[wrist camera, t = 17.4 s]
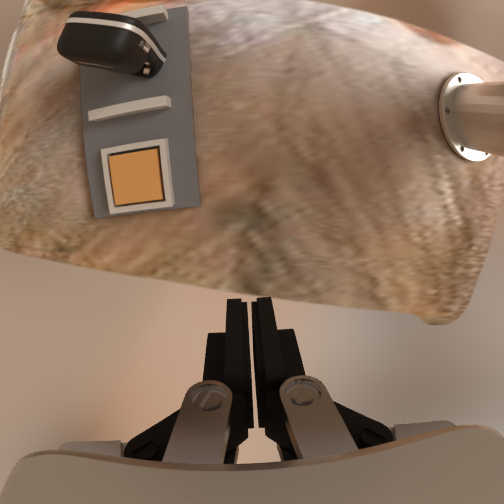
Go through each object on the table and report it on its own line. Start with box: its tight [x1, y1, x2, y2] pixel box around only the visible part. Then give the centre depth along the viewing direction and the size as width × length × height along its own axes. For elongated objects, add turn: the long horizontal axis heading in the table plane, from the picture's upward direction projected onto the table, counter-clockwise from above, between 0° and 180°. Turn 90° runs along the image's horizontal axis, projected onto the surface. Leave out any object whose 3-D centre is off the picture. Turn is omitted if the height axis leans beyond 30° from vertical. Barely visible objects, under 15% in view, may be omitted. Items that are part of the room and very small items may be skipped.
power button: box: [109, 148, 164, 205], centre depth 28 cm, size 5×5×1 cm
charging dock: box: [80, 4, 201, 219], centre depth 26 cm, size 12×22×4 cm, turn 3°
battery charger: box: [57, 11, 167, 78], centre depth 19 cm, size 7×4×11 cm, turn 69°
